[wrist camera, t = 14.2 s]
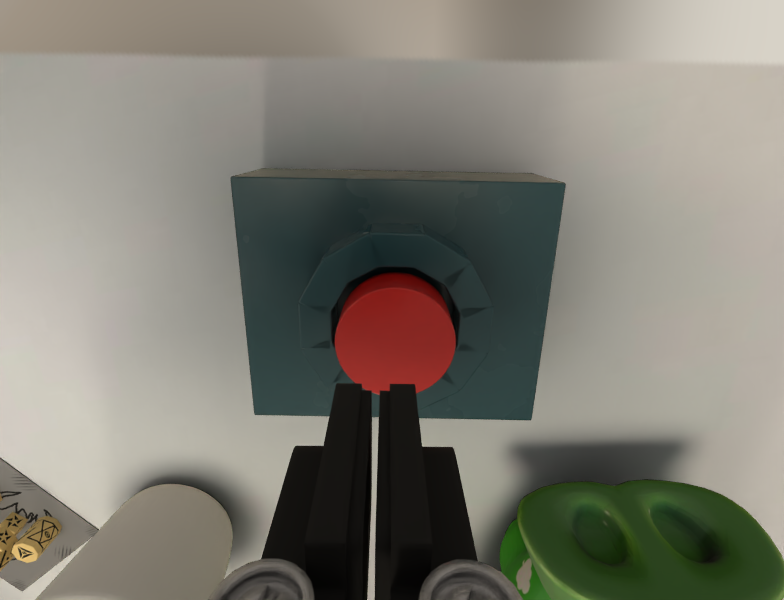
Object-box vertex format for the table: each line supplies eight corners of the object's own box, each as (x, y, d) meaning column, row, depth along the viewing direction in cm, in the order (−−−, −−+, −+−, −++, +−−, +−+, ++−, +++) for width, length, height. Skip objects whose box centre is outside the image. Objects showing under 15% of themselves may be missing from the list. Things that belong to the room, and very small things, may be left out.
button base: (277, 368, 24) (240, 442, 18) (262, 168, 20) (210, 181, 14) (509, 372, 24) (544, 448, 18) (532, 173, 20) (586, 188, 14)
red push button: (341, 371, 17) (335, 396, 16) (339, 270, 16) (332, 286, 14) (446, 373, 17) (452, 398, 16) (453, 272, 16) (460, 288, 14)
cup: (181, 610, 30) (109, 770, 22) (70, 550, 28) (-49, 703, 21) (276, 512, 27) (230, 660, 19) (158, 440, 25) (57, 570, 18)
